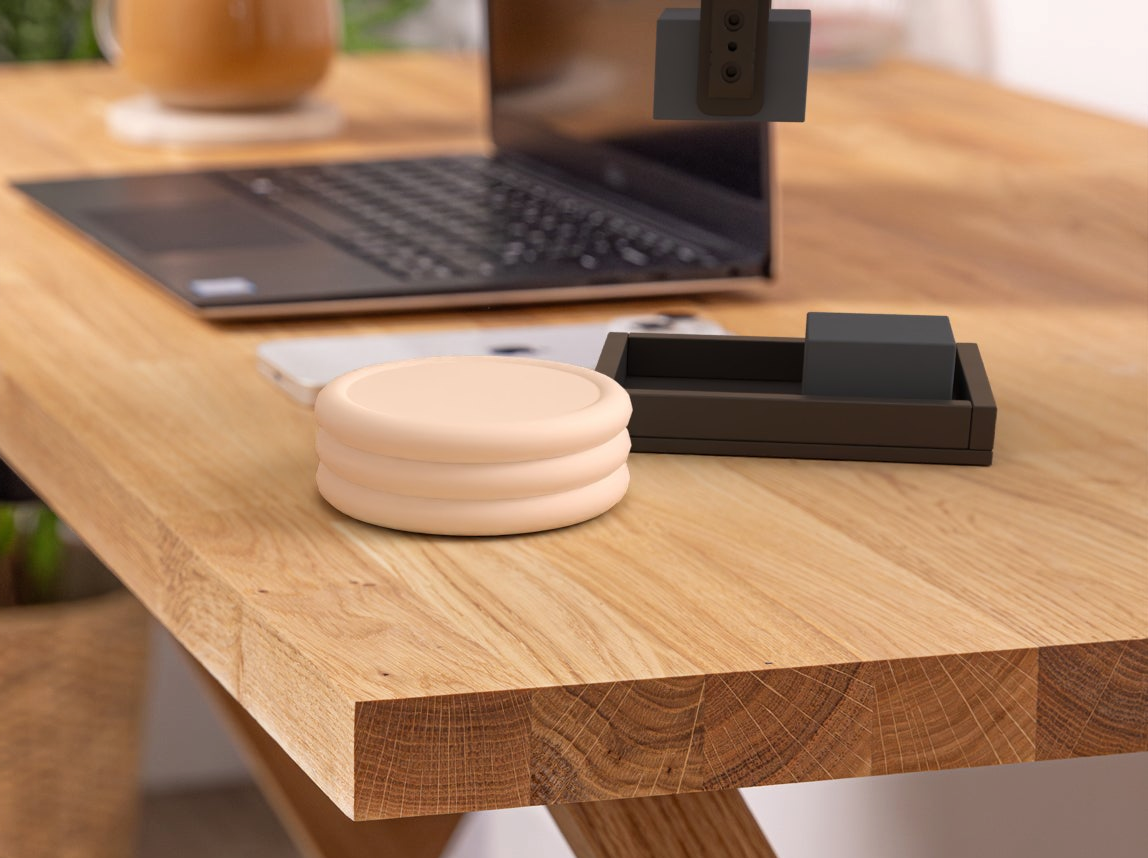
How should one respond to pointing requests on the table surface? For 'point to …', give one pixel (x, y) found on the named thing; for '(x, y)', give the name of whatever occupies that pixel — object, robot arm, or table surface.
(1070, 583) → the table surface
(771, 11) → the dark grey block
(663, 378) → the tray
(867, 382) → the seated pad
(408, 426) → the coaster
